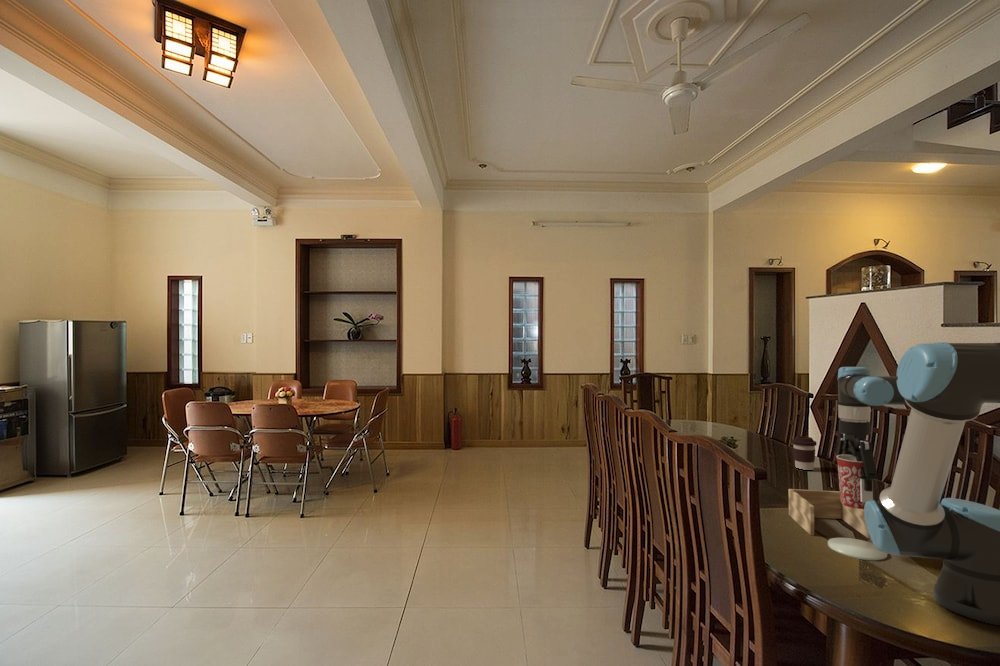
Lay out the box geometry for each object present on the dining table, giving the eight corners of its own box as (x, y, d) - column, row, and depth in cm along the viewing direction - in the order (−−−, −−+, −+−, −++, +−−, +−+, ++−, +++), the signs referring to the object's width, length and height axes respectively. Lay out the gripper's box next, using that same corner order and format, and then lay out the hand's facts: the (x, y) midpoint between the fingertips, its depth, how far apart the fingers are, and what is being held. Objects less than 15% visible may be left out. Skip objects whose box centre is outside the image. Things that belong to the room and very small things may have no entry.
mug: (876, 512, 136) (875, 463, 136) (836, 506, 141) (835, 458, 142) (875, 500, 146) (874, 454, 147) (838, 495, 152) (837, 450, 152)
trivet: (898, 562, 136) (898, 559, 136) (841, 558, 138) (841, 555, 138) (871, 542, 149) (871, 539, 149) (819, 538, 152) (819, 536, 152)
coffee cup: (796, 465, 241) (796, 434, 241) (820, 469, 233) (819, 437, 233) (788, 469, 234) (788, 437, 235) (812, 473, 227) (811, 440, 227)
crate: (872, 539, 151) (871, 509, 152) (810, 535, 155) (810, 506, 155) (843, 518, 170) (843, 491, 170) (788, 514, 173) (788, 488, 173)
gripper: (892, 427, 132) (894, 509, 132) (848, 414, 155) (849, 484, 155) (860, 426, 134) (862, 508, 133) (822, 413, 157) (823, 482, 157)
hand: (855, 495), depth 144 cm, fingers closed on mug, 12 cm apart
